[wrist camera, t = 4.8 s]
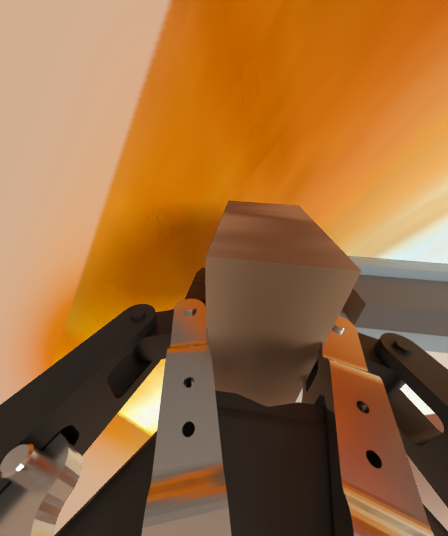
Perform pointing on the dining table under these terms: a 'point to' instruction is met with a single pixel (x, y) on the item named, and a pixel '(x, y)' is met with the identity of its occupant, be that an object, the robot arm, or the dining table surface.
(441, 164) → the dining table surface
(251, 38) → the dining table surface
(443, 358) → the vise jaw
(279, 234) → the walnut block
